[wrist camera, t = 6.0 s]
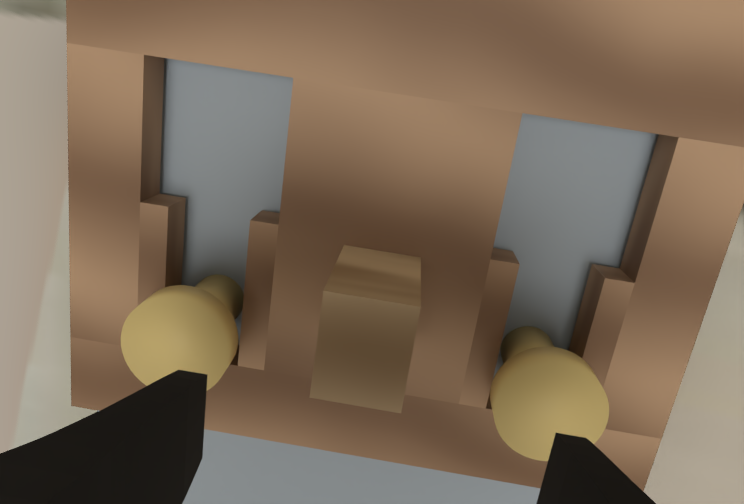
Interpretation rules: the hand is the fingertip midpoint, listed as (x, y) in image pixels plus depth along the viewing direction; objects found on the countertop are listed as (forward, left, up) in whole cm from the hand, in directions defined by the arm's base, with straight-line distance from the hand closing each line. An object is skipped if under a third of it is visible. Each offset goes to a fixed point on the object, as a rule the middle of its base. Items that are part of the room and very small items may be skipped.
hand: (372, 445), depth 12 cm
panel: (+3, +1, -8) cm, 9 cm away
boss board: (-1, 0, -10) cm, 10 cm away
